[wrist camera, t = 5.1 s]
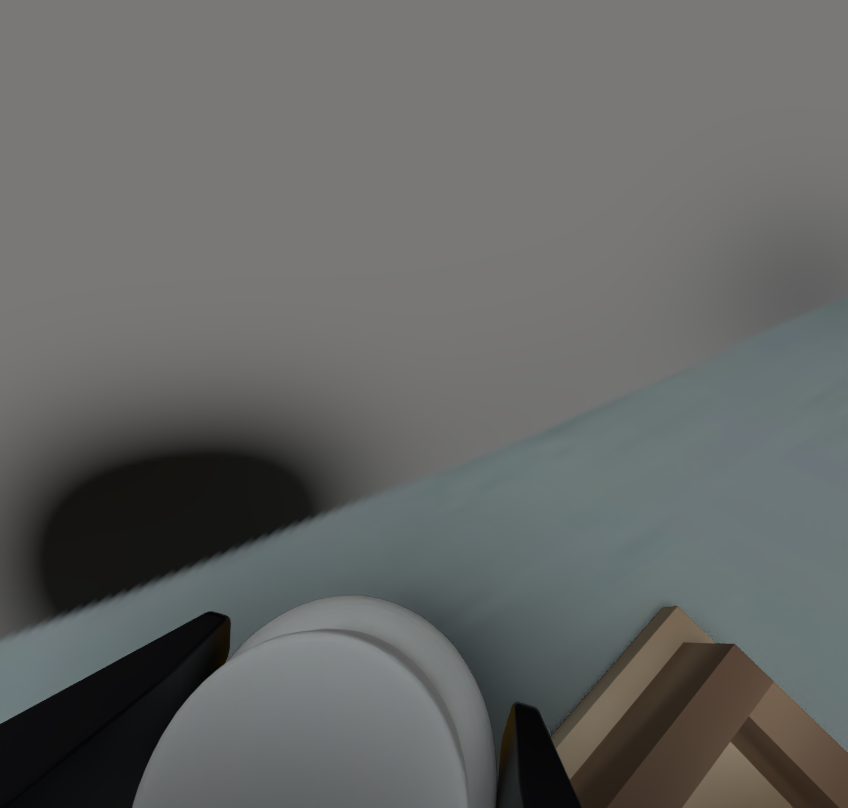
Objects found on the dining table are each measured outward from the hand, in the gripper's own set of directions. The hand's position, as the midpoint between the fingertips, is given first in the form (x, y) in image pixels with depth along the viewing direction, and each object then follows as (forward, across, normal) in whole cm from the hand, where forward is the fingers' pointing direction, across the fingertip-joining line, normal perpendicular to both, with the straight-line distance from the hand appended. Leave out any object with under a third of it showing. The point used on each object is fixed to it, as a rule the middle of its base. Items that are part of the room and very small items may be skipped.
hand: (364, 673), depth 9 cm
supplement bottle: (+4, 0, +6) cm, 7 cm away
